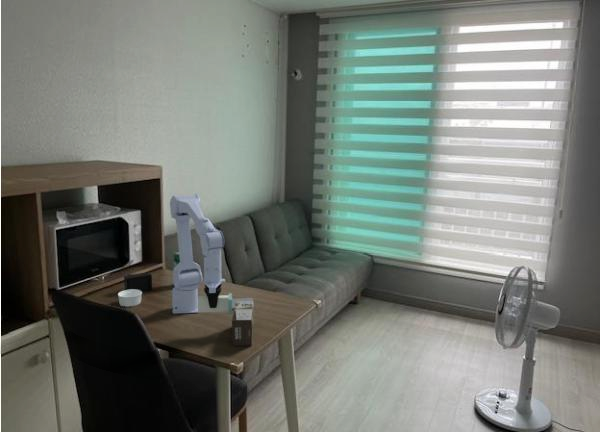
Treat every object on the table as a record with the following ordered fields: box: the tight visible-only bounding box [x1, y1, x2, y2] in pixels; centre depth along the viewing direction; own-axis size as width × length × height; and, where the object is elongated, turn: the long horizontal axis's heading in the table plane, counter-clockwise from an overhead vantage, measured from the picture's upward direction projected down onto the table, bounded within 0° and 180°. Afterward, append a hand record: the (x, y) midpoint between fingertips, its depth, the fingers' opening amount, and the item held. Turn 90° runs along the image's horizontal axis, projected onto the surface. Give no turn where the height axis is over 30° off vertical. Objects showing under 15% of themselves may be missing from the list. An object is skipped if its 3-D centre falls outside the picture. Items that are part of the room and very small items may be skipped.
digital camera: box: [123, 272, 153, 293], centre depth 194 cm, size 10×5×7 cm, turn 124°
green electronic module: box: [172, 250, 190, 271], centre depth 201 cm, size 6×6×15 cm
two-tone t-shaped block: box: [198, 293, 233, 315], centre depth 155 cm, size 11×6×5 cm, turn 99°
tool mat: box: [232, 297, 255, 311], centre depth 181 cm, size 18×10×1 cm, turn 99°
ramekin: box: [117, 289, 143, 308], centre depth 181 cm, size 9×9×4 cm
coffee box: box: [231, 300, 254, 347], centre depth 154 cm, size 9×6×16 cm
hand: (213, 306), depth 155 cm, fingers closed on two-tone t-shaped block, 2 cm apart
